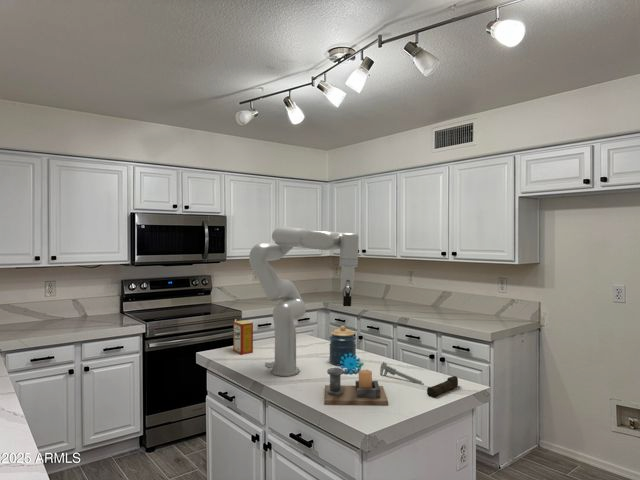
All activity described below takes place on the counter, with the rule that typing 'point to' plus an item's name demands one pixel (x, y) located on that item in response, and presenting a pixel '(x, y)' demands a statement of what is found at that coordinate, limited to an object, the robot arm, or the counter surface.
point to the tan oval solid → (365, 379)
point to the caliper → (397, 373)
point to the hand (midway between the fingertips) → (347, 304)
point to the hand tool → (443, 386)
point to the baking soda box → (243, 337)
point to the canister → (341, 345)
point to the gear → (351, 363)
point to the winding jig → (352, 392)
